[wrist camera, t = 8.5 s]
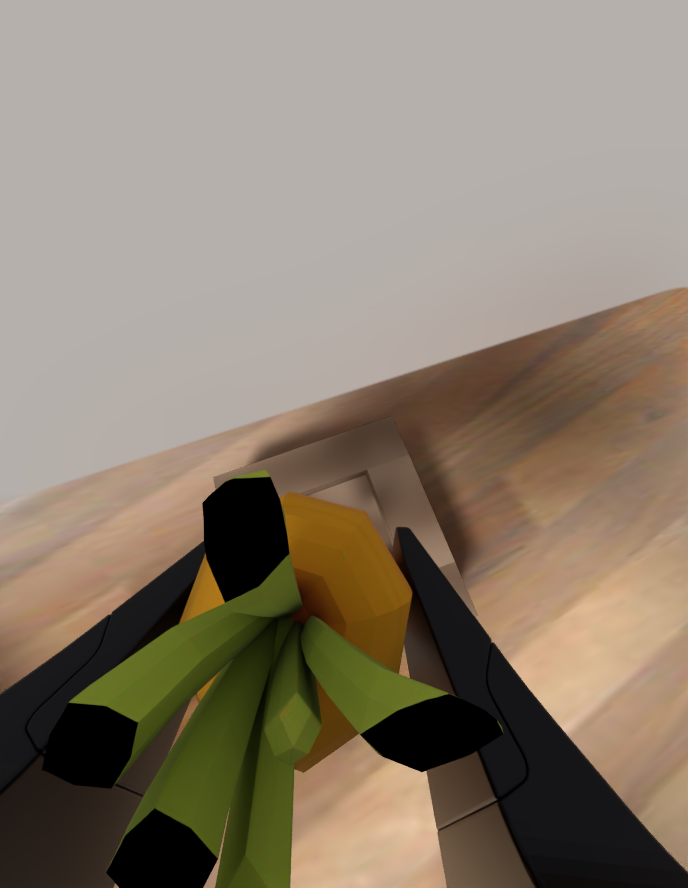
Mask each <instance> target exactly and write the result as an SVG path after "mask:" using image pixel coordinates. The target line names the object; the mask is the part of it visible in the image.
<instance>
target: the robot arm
mask: <svg viewBox="0 0 688 888" xmlns="http://www.w3.org/2000/svg"><path fill="white" fill-rule="evenodd" d="M204 556H205V546H204V541H203V542H202V543H200V544H199V545H198V546H196V547H195V548H194V549H193V550H191V551H190V552H189V553H187V554H186V555H185V556H184V557H182V558H181V559H180V560H178V561H177V562H176V563H175V564H173V565H172V566H171V567H169V568H168V569H167V570H166V571H164V572H163V573H162V574H160V575H159V576H158V577H157V578H155V579H154V580H153V581H151V582H150V583H149V584H148V585H146V586H145V587H144V588H142V589H141V590H140V591H139V592H137V593H136V594H135V595H133V596H132V597H131V598H130V599H128V600H127V601H126V602H124V603H123V604H122V605H120V606H119V607H118V608H117V609H115V610H114V611H113V612H112V614H111V615H107V616H106V617H105V618H104V619H102V620H101V621H100V622H98V623H97V624H96V625H95V626H93V627H92V628H91V629H89V630H88V631H87V632H85V633H84V634H83V635H81V636H80V637H79V638H77V639H76V640H75V641H73V642H72V643H71V644H69V645H68V646H67V647H66V648H64V649H63V650H62V651H60V652H59V653H57V654H56V655H55V656H53V657H52V658H50V659H49V660H48V661H46V662H45V663H43V664H42V665H41V666H39V667H38V668H36V669H35V670H34V671H32V672H31V673H29V674H28V675H27V676H25V677H24V678H22V679H21V680H19V681H18V682H17V683H15V684H14V685H12V686H11V687H9V688H8V689H7V690H5V691H4V692H2V693H1V694H0V888H113V887H114V885H115V882H114V881H113V880H112V879H111V878H110V877H109V876H108V875H107V873H106V871H107V869H108V867H109V865H110V863H111V861H112V859H113V857H114V855H115V853H116V850H117V848H118V846H119V844H120V842H121V840H122V838H123V836H124V834H125V832H126V830H127V828H128V825H129V824H130V822H131V820H132V818H133V816H134V814H135V812H136V810H137V808H138V806H139V804H140V802H141V800H142V798H143V797H144V795H145V793H146V791H147V789H148V788H149V786H150V784H151V783H152V781H153V779H154V778H155V776H156V774H157V773H158V771H159V769H160V768H161V766H162V764H163V763H164V761H165V759H166V758H167V756H168V753H169V751H170V749H171V746H172V744H173V741H174V739H175V736H176V734H177V732H178V729H179V727H180V724H181V722H182V719H183V717H184V715H185V712H186V710H187V707H188V705H189V702H190V700H191V699H190V700H189V701H188V702H187V703H186V704H185V705H183V706H182V707H181V708H180V710H179V711H178V712H177V713H176V714H175V715H174V717H173V718H172V719H171V720H170V721H169V722H168V724H167V725H166V726H165V727H164V728H163V729H162V731H161V732H160V733H159V734H158V735H157V736H156V738H155V739H154V740H153V741H152V742H151V743H150V745H149V746H148V747H147V748H146V749H145V750H144V752H143V753H142V754H141V755H140V756H139V757H138V759H137V760H136V761H135V762H134V763H133V764H132V766H131V767H130V768H129V769H128V770H127V771H126V773H125V774H124V775H123V776H122V777H121V778H120V780H119V781H118V782H117V783H116V784H115V786H114V787H113V788H112V789H108V788H98V787H87V786H76V785H72V784H70V783H68V782H66V781H64V780H62V779H60V778H58V777H56V776H54V775H52V774H50V773H48V772H46V771H43V770H42V767H43V762H44V757H45V752H46V748H47V743H48V739H49V735H50V733H51V732H52V730H53V728H54V727H55V725H56V723H57V722H58V720H59V718H60V717H61V715H62V713H63V712H64V710H65V708H66V706H67V704H68V702H69V701H71V700H72V699H73V698H74V697H76V696H77V695H78V694H79V693H81V692H82V691H83V690H84V689H86V688H87V687H88V686H89V685H91V684H92V683H94V682H95V681H97V680H98V679H99V678H101V677H102V676H104V675H105V674H106V673H108V672H109V671H111V670H112V669H114V668H115V667H116V666H118V665H119V664H121V663H122V662H124V661H125V660H126V659H128V658H129V657H131V656H132V655H134V654H135V653H136V652H138V651H139V650H141V649H142V648H144V647H145V646H146V645H148V644H149V643H151V642H152V641H153V640H155V639H156V638H158V637H159V636H161V635H162V634H163V633H165V632H166V631H168V630H169V629H171V628H172V627H174V626H176V625H179V623H180V620H181V617H182V615H183V612H184V609H185V607H186V604H187V601H188V599H189V596H190V593H191V590H192V588H193V585H194V582H195V580H196V577H197V574H198V572H199V569H200V566H201V564H202V561H203V558H204ZM393 557H394V560H395V562H396V564H397V565H398V567H399V569H400V570H401V572H402V574H403V575H404V577H405V579H406V581H407V582H408V584H409V586H410V587H411V590H412V599H411V604H410V610H409V616H408V622H407V628H406V634H405V640H404V646H405V652H406V657H407V663H408V669H409V674H410V679H413V680H416V681H418V682H421V683H424V684H426V685H429V686H432V687H434V688H437V689H440V690H442V691H445V692H447V693H450V694H452V695H454V696H457V697H459V698H461V699H464V700H466V701H468V702H470V703H472V704H474V705H476V706H478V707H480V708H482V709H484V710H486V711H487V712H488V713H489V714H490V715H492V716H493V717H494V718H495V719H497V721H498V722H499V724H500V725H501V726H502V729H503V732H504V734H503V735H501V736H500V737H498V738H497V739H495V740H493V741H492V742H490V743H489V744H487V745H485V746H484V747H482V748H481V749H479V750H478V751H476V752H474V753H473V754H471V755H468V756H466V757H464V758H461V759H458V760H455V761H452V762H450V763H447V764H444V765H441V766H438V767H435V768H432V769H429V770H427V776H428V782H429V787H430V793H431V799H432V804H433V810H434V816H435V821H436V827H437V829H438V839H439V845H440V850H441V856H442V862H443V867H444V873H445V878H446V884H447V888H688V872H687V871H686V870H685V869H684V868H683V867H682V866H681V865H680V864H679V863H678V862H677V861H676V860H675V859H674V858H673V857H672V856H671V855H670V854H669V853H668V852H667V851H666V849H665V848H664V847H663V846H662V845H661V844H660V843H659V842H658V841H657V840H656V839H655V838H654V836H653V835H652V834H651V833H650V832H649V831H648V830H647V829H646V828H645V826H644V825H643V824H642V823H641V822H640V821H639V819H638V818H637V817H636V816H635V815H634V814H633V813H632V811H631V810H630V809H629V808H628V807H627V805H626V804H625V803H624V802H623V801H622V799H621V798H620V797H619V796H618V795H617V794H616V792H615V791H614V790H613V789H612V788H611V786H610V785H609V784H608V783H607V782H606V781H605V779H604V778H603V777H602V776H601V775H600V773H599V772H598V771H597V770H596V769H595V768H594V766H593V765H592V764H591V763H590V762H589V760H588V759H587V758H586V757H585V756H584V755H583V753H582V752H581V751H580V750H579V749H578V747H577V746H576V745H575V744H574V743H573V741H572V740H571V739H570V738H569V737H568V736H567V734H566V733H565V732H564V731H563V730H562V728H561V727H560V726H559V725H558V724H557V723H556V721H555V720H554V719H553V718H552V717H551V715H550V714H549V713H548V712H547V710H546V709H545V708H544V707H543V706H542V704H541V703H540V702H539V701H538V699H537V698H536V697H535V696H534V695H533V693H532V692H531V691H530V690H529V689H528V687H527V686H526V685H525V683H524V682H523V681H522V679H521V678H520V677H519V675H518V674H517V673H516V671H515V670H514V669H513V668H512V666H511V665H510V664H509V662H508V661H507V660H506V658H505V657H504V656H503V654H502V653H501V651H500V650H499V649H498V647H497V646H496V645H495V643H493V642H492V643H491V638H490V637H489V635H488V634H487V633H486V631H485V630H484V628H483V627H482V626H481V624H480V623H479V622H478V620H477V619H476V618H475V616H474V615H473V614H472V612H471V611H470V609H469V608H468V607H467V605H466V604H465V603H464V601H463V600H462V599H461V597H460V596H459V594H458V593H457V592H456V590H455V589H454V588H453V586H452V585H451V584H450V582H449V581H448V579H447V578H446V577H445V575H444V574H443V573H442V571H441V570H440V569H439V567H438V566H437V565H436V563H435V562H434V560H433V559H432V558H431V556H430V555H429V554H428V552H427V551H426V550H425V548H424V547H423V545H422V544H421V543H420V541H419V540H418V539H417V537H416V536H415V535H414V533H413V532H412V531H411V529H410V528H408V527H396V529H395V535H394V542H393Z"/></svg>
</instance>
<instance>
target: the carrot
mask: <svg viewBox="0 0 688 888" xmlns="http://www.w3.org/2000/svg"><path fill="white" fill-rule="evenodd" d="M203 516H204V546H205V556H204V558H203V561H202V564H201V566H200V569H199V572H198V574H197V577H196V580H195V582H194V585H193V588H192V590H191V593H190V596H189V599H188V601H187V604H186V607H185V609H184V612H183V615H182V617H181V620H180V623H179V625H176V626H174V627H172V628H171V629H169V630H168V631H166V632H165V633H163V634H162V635H161V636H159V637H158V638H156V639H155V640H153V641H152V642H151V643H149V644H148V645H146V646H145V647H144V648H142V649H141V650H139V651H138V652H136V653H135V654H134V655H132V656H131V657H129V658H128V659H126V660H125V661H124V662H122V663H121V664H119V665H118V666H116V667H115V668H114V669H112V670H111V671H109V672H108V673H106V674H105V675H104V676H102V677H101V678H99V679H98V680H97V681H95V682H94V683H92V684H91V685H89V686H88V687H87V688H86V689H84V690H83V691H82V692H81V693H79V694H78V695H77V696H76V697H74V698H73V699H72V700H71V701H69V702H68V704H67V706H66V708H65V710H64V712H63V713H62V715H61V717H60V718H59V720H58V722H57V723H56V725H55V727H54V728H53V730H52V732H51V733H50V735H49V739H48V743H47V748H46V752H45V757H44V762H43V767H42V770H43V771H46V772H48V773H50V774H52V775H54V776H56V777H58V778H60V779H62V780H64V781H66V782H68V783H70V784H72V785H76V786H87V787H98V788H108V789H112V788H113V787H114V786H115V784H116V783H117V782H118V781H119V780H120V778H121V777H122V776H123V775H124V774H125V773H126V771H127V770H128V769H129V768H130V767H131V766H132V764H133V763H134V762H135V761H136V760H137V759H138V757H139V756H140V755H141V754H142V753H143V752H144V750H145V749H146V748H147V747H148V746H149V745H150V743H151V742H152V741H153V740H154V739H155V738H156V736H157V735H158V734H159V733H160V732H161V731H162V729H163V728H164V727H165V726H166V725H167V724H168V722H169V721H170V720H171V719H172V718H173V717H174V715H175V714H176V713H177V712H178V711H179V710H180V708H181V707H182V706H183V705H185V704H186V703H187V702H188V701H189V700H190V699H191V698H192V697H193V696H194V695H195V694H196V696H197V700H198V703H199V704H198V706H197V707H196V709H195V711H194V712H193V714H192V716H191V717H190V719H189V721H188V722H187V724H186V726H185V728H184V729H183V731H182V733H181V734H180V736H179V738H178V739H177V741H176V743H175V744H174V746H173V748H172V749H171V751H170V753H169V754H168V756H167V758H166V759H165V761H164V763H163V764H162V766H161V768H160V769H159V771H158V773H157V774H156V776H155V778H154V779H153V781H152V783H151V784H150V786H149V788H148V789H147V791H146V793H145V795H144V797H143V798H142V800H141V802H140V804H139V806H138V808H137V810H136V812H135V814H134V816H133V818H132V820H131V822H130V824H129V825H128V828H127V830H126V832H125V834H124V836H123V838H122V840H121V842H120V844H119V846H118V848H117V850H116V853H115V855H114V857H113V859H112V861H111V863H110V865H109V867H108V869H107V871H106V873H107V875H108V876H109V877H110V878H111V879H112V880H113V881H114V882H115V883H116V884H117V886H118V887H119V888H203V887H204V885H205V883H206V881H207V879H208V877H209V875H210V873H211V872H212V870H213V868H214V866H215V864H216V862H217V860H218V857H219V852H220V847H221V843H222V838H223V833H224V828H225V824H226V819H227V815H228V811H229V816H228V821H227V827H226V832H225V837H224V843H223V848H222V854H221V859H220V865H219V870H218V875H217V881H216V886H215V888H290V875H291V847H292V818H293V790H294V769H296V770H298V771H301V772H303V773H304V772H306V771H307V770H308V769H310V768H311V767H313V766H314V765H315V764H317V763H318V762H320V761H321V760H322V759H324V758H325V757H327V756H328V755H330V754H331V753H332V752H334V751H335V750H337V749H338V748H339V747H341V746H342V745H344V744H345V743H346V742H348V741H349V740H351V739H352V738H353V737H355V736H356V735H358V734H360V735H361V736H362V737H363V738H364V739H365V740H366V741H367V743H368V744H369V745H370V746H371V747H372V748H373V749H374V750H375V751H376V752H377V753H378V754H379V755H381V756H383V757H385V758H387V759H390V760H392V761H395V762H397V763H400V764H403V765H405V766H408V767H410V768H413V769H415V770H418V771H420V772H424V771H427V770H429V769H432V768H435V767H438V766H441V765H444V764H447V763H450V762H452V761H455V760H458V759H461V758H464V757H466V756H468V755H471V754H473V753H474V752H476V751H478V750H479V749H481V748H482V747H484V746H485V745H487V744H489V743H490V742H492V741H493V740H495V739H497V738H498V737H500V736H501V735H503V734H504V732H503V729H502V726H501V725H500V724H499V722H498V721H497V719H495V718H494V717H493V716H492V715H490V714H489V713H488V712H487V711H486V710H484V709H482V708H480V707H478V706H476V705H474V704H472V703H470V702H468V701H466V700H464V699H461V698H459V697H457V696H454V695H452V694H450V693H447V692H445V691H442V690H440V689H437V688H434V687H432V686H429V685H426V684H424V683H421V682H418V681H416V680H413V679H410V678H408V677H405V676H402V675H400V674H399V669H400V663H401V657H402V651H403V646H404V640H405V634H406V628H407V622H408V616H409V610H410V604H411V599H412V590H411V587H410V586H409V584H408V582H407V581H406V579H405V577H404V575H403V574H402V572H401V570H400V569H399V567H398V565H397V564H396V562H395V560H394V558H393V557H392V555H391V553H390V552H389V550H388V548H387V547H386V545H385V543H384V542H383V540H382V538H381V536H380V535H379V533H378V531H377V530H376V528H375V526H374V525H373V523H372V521H371V519H370V518H369V516H368V514H367V513H366V511H362V510H358V509H354V508H351V507H347V506H343V505H340V504H336V503H332V502H328V501H325V500H321V499H317V498H313V497H310V496H306V495H302V494H298V493H295V492H288V493H286V494H285V495H283V496H281V497H280V498H279V496H278V493H277V491H276V489H275V486H274V484H273V481H272V479H271V477H270V475H269V473H268V472H267V470H261V471H257V472H253V473H249V474H244V475H240V476H236V477H233V478H231V479H229V480H227V481H225V482H224V483H223V484H222V485H221V486H220V487H219V488H217V489H216V490H215V491H214V492H213V493H212V494H211V495H210V496H208V498H207V499H206V500H205V501H204V502H203ZM230 804H231V805H230ZM229 808H230V810H229Z"/></svg>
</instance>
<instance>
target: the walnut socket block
mask: <svg viewBox="0 0 688 888" xmlns="http://www.w3.org/2000/svg"><path fill="white" fill-rule="evenodd" d="M261 470H267V472H268V473H269V475H270V477H271V479H272V481H273V484H274V486H275V489H276V491H277V493H278V496H279V498H280V497H281V496H283V495H285V494H286V493H288V492H295V493H298V494H302V495H306V496H310V497H313V498H317V499H321V500H325V501H328V502H332V503H336V504H340V505H343V506H347V507H351V508H354V509H358V510H362V511H366V513H367V514H368V516H369V518H370V519H371V521H372V523H373V525H374V526H375V528H376V530H377V531H378V533H379V535H380V536H381V538H382V540H383V542H384V543H385V545H386V547H387V548H388V550H389V552H390V553H391V555H392V557H393V542H394V535H395V529H396V527H408V528H410V529H411V531H412V532H413V533H414V535H415V536H416V537H417V539H418V540H419V541H420V543H421V544H422V545H423V547H424V548H425V550H426V551H427V552H428V554H429V555H430V556H431V558H432V559H433V560H434V562H435V563H436V565H437V566H438V567H439V569H440V570H441V571H442V573H443V574H444V575H445V577H446V578H447V579H448V581H449V582H450V584H451V585H452V586H453V588H454V589H455V590H456V592H457V593H458V594H459V596H460V597H461V599H462V600H463V601H464V603H465V604H466V605H467V607H468V608H469V609H470V611H471V612H472V614H473V615H474V616H478V614H477V612H476V609H475V607H474V605H473V602H472V600H471V598H470V595H469V593H468V591H467V589H466V586H465V584H464V582H463V579H462V577H461V575H460V572H459V570H458V568H457V565H456V563H455V561H454V558H453V556H452V554H451V551H450V549H449V547H448V544H447V542H446V540H445V537H444V535H443V533H442V530H441V528H440V526H439V523H438V521H437V519H436V516H435V514H434V512H433V509H432V507H431V505H430V502H429V500H428V498H427V495H426V493H425V491H424V489H423V486H422V484H421V482H420V479H419V477H418V475H417V472H416V470H415V468H414V465H413V463H412V461H411V458H410V456H409V454H408V451H407V449H406V447H405V444H404V442H403V440H402V437H401V435H400V433H399V430H398V428H397V426H396V423H395V421H394V419H393V416H389V417H386V418H384V419H381V420H378V421H375V422H372V423H369V424H366V425H363V426H360V427H357V428H355V429H352V430H349V431H346V432H343V433H340V434H337V435H334V436H331V437H328V438H326V439H323V440H320V441H317V442H314V443H311V444H308V445H305V446H302V447H300V448H297V449H294V450H291V451H288V452H285V453H282V454H279V455H276V456H273V457H271V458H268V459H265V460H262V461H259V462H256V463H253V464H250V465H247V466H244V467H242V468H239V469H236V470H233V471H230V472H227V473H224V474H221V475H218V476H215V477H213V478H214V483H215V488H216V489H217V488H219V487H220V486H221V485H222V484H223V483H224V482H225V481H227V480H229V479H231V478H233V477H236V476H240V475H244V474H249V473H253V472H257V471H261ZM393 558H394V557H393Z"/></svg>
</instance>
